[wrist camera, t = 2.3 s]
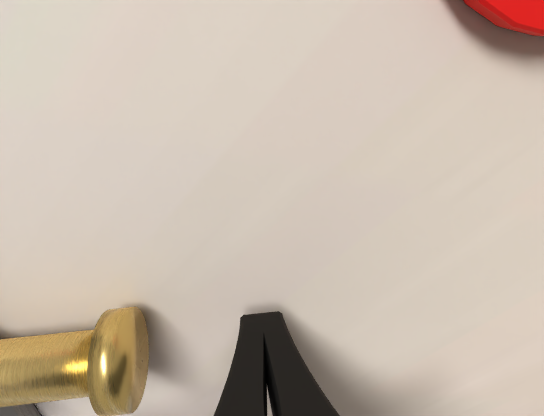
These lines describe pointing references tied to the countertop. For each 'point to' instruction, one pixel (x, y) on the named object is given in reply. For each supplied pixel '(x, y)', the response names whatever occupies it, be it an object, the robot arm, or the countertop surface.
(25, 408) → the hinge
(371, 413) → the countertop surface
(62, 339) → the pin
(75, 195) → the countertop surface
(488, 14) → the tow hook
